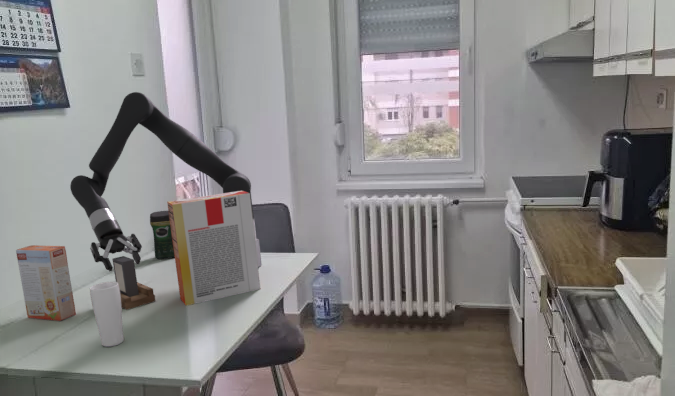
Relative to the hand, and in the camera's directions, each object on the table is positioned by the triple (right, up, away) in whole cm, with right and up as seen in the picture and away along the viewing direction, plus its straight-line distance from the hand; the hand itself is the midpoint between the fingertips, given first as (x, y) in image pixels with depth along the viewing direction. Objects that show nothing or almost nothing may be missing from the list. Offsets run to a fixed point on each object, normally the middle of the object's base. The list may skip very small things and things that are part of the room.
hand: (125, 266), depth 178 cm
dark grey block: (0, -9, +2) cm, 9 cm away
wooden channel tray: (+1, -11, +1) cm, 11 cm away
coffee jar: (-3, -3, +54) cm, 54 cm away
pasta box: (+29, -9, 0) cm, 30 cm away
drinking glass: (+9, -16, -32) cm, 37 cm away
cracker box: (-19, -14, -7) cm, 24 cm away
